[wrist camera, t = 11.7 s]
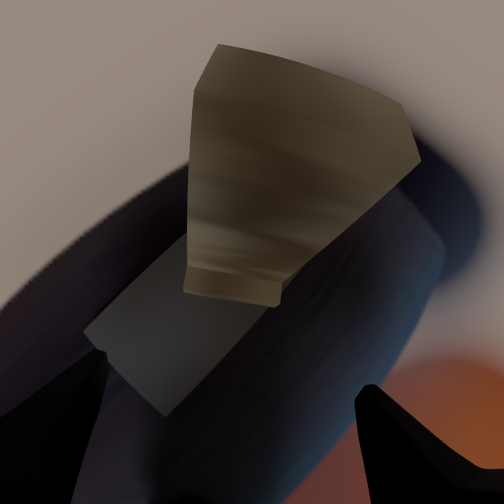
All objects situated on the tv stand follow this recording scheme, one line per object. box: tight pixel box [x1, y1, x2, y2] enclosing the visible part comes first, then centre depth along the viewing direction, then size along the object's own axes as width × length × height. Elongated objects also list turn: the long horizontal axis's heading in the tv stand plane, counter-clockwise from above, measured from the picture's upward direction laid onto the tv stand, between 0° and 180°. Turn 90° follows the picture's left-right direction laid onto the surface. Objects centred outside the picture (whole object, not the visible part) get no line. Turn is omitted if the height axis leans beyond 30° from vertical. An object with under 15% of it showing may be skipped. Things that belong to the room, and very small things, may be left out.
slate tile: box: [83, 232, 305, 417], centre depth 17 cm, size 7×14×1 cm, turn 139°
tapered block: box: [183, 44, 421, 307], centre depth 12 cm, size 6×5×13 cm
